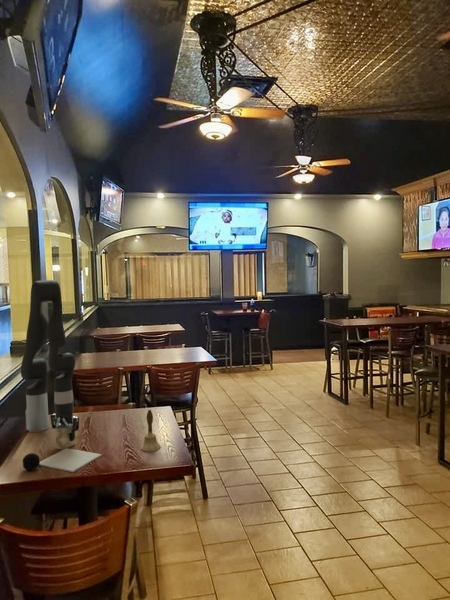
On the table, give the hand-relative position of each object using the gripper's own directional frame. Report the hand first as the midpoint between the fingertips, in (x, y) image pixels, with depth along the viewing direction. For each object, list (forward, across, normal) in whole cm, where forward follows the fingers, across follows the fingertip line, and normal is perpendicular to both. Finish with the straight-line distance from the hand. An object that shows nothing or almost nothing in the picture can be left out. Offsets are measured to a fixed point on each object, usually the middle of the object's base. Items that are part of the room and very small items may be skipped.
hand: (65, 439), depth 195 cm
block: (+3, 0, 0) cm, 3 cm away
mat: (+3, +12, -11) cm, 17 cm away
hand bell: (+3, +35, +11) cm, 37 cm away
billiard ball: (+3, +4, -23) cm, 23 cm away
